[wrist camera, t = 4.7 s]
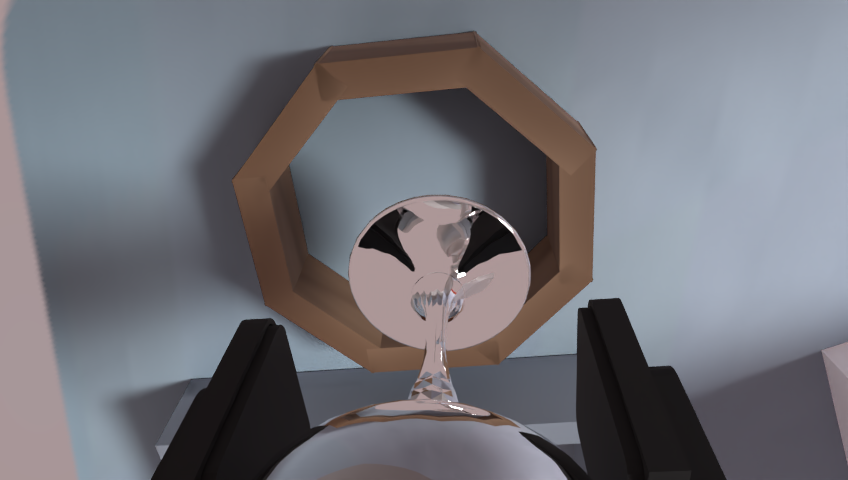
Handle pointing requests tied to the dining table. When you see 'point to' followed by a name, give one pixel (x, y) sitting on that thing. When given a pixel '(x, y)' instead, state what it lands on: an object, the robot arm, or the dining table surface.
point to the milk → (839, 386)
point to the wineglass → (431, 354)
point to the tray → (475, 385)
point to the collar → (396, 74)
